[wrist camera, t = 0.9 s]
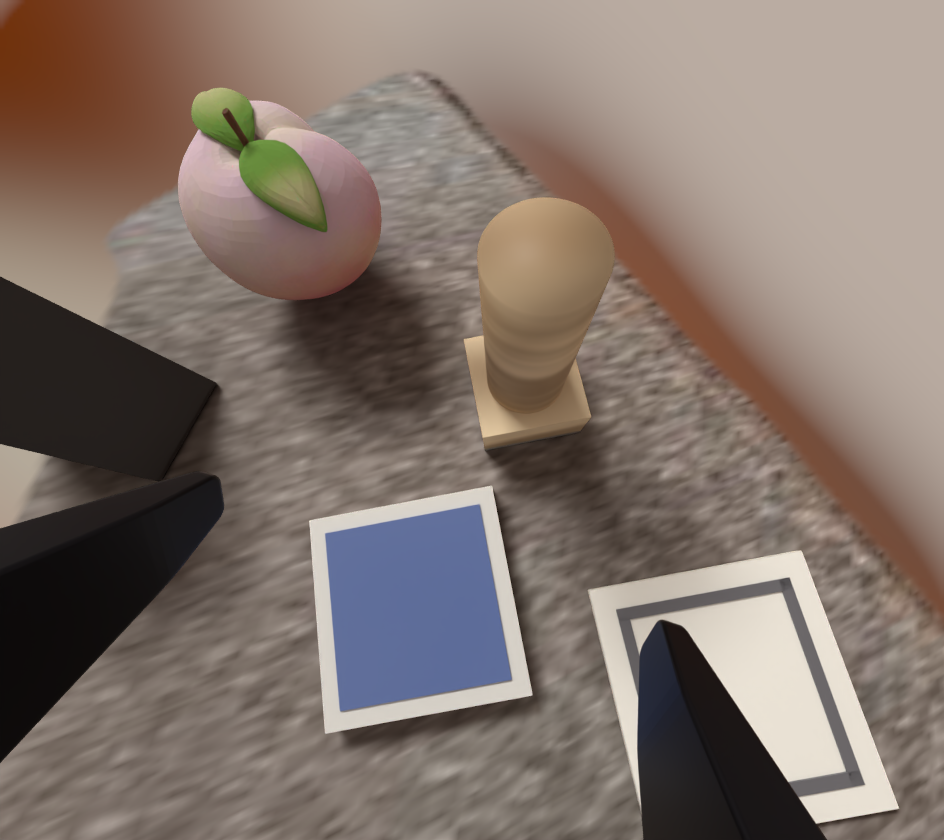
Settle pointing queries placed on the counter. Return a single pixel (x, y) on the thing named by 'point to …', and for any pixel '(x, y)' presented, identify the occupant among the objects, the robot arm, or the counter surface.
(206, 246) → the decorative fruit
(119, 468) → the phone stand
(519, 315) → the stamp
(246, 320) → the counter surface
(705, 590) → the card
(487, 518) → the ink pad
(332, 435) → the counter surface
